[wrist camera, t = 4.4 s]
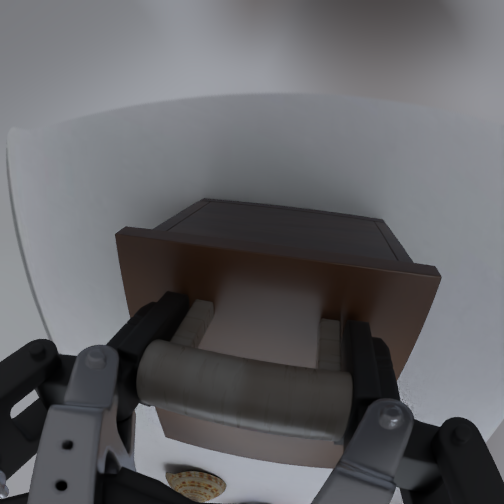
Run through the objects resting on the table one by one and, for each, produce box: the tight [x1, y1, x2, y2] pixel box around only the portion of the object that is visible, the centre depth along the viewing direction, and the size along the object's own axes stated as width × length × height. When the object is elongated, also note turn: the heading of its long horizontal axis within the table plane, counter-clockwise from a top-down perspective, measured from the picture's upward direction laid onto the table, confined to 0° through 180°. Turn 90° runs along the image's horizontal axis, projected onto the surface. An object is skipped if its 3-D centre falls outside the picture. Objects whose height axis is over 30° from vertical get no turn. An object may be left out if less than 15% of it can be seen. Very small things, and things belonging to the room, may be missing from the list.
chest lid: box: [115, 226, 442, 469], centre depth 11 cm, size 14×12×5 cm
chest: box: [153, 198, 414, 263], centre depth 18 cm, size 14×12×8 cm
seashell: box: [166, 471, 226, 503], centre depth 34 cm, size 8×6×8 cm
